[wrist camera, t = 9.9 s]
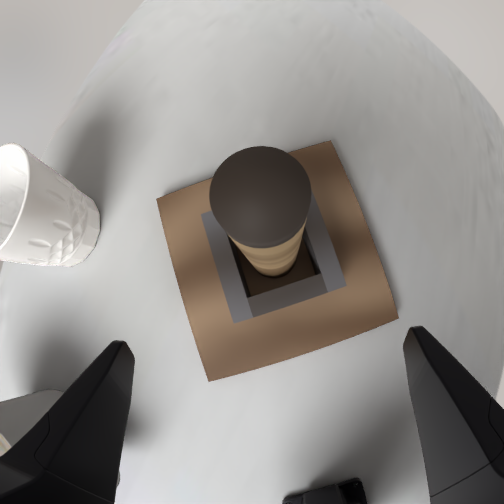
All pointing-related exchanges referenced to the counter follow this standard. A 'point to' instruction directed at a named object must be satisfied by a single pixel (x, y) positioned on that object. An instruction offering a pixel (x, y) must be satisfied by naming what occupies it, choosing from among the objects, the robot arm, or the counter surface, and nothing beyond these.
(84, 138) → the counter surface
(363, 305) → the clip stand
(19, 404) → the coffee mug
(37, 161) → the white cup
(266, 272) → the wooden peg
